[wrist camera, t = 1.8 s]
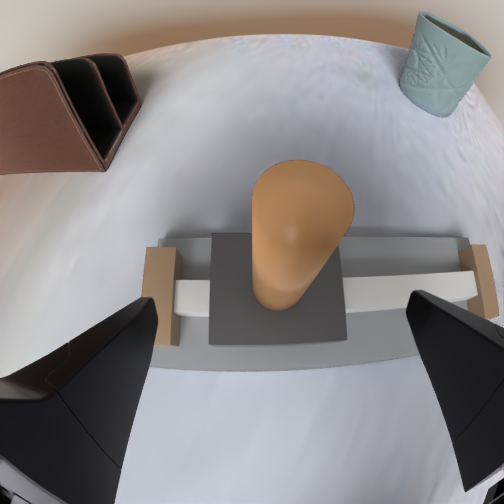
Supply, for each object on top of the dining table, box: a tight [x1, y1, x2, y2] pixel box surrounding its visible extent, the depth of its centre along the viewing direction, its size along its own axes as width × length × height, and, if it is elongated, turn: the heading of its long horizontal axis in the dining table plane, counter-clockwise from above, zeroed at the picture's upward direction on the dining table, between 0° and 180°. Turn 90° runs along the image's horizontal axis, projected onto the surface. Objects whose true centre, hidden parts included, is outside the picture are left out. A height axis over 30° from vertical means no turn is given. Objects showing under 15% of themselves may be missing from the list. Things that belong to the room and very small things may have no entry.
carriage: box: [209, 160, 354, 347], centre depth 12 cm, size 7×6×10 cm
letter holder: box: [0, 53, 142, 175], centre depth 19 cm, size 10×20×14 cm, turn 82°
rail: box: [141, 236, 499, 372], centre depth 18 cm, size 26×9×3 cm, turn 91°
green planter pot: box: [399, 11, 491, 117], centre depth 23 cm, size 10×10×12 cm
